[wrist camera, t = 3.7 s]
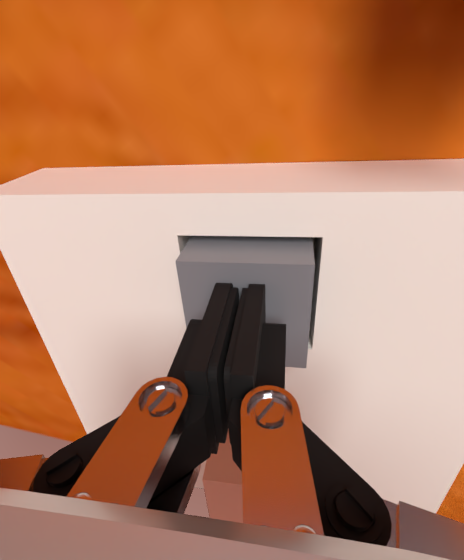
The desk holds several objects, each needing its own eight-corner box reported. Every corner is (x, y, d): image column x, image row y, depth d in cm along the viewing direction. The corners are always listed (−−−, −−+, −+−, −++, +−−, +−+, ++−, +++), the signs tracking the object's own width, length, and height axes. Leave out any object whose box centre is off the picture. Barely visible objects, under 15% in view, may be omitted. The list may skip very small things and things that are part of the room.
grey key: (310, 225, 13) (315, 265, 10) (304, 318, 15) (306, 368, 12) (197, 225, 13) (175, 261, 11) (208, 313, 16) (191, 359, 13)
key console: (527, 157, 12) (614, 189, 9) (411, 453, 22) (431, 520, 19) (43, 168, 16) (-26, 195, 12) (131, 422, 26) (106, 475, 22)
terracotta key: (297, 431, 17) (298, 492, 15) (293, 476, 20) (294, 536, 17) (215, 422, 18) (202, 479, 16) (220, 467, 20) (210, 523, 18)
